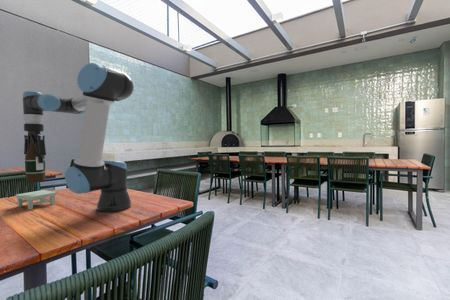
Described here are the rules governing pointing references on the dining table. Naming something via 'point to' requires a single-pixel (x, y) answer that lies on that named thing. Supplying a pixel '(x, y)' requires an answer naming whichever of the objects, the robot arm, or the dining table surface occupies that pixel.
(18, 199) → the stool
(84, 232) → the dining table surface
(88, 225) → the dining table surface
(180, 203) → the dining table surface
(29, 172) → the beer bottle
